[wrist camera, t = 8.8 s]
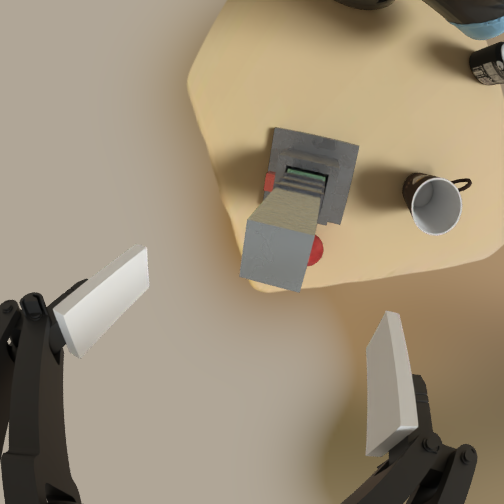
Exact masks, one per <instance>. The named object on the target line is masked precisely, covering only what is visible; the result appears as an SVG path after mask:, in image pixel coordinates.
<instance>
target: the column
mask: <svg viewBox="0 0 504 504" xmlns="http://www.w3.org/2000/svg"><path fill="white" fill-rule="evenodd" d="M325 178H326V177H325V176H324V175H322V174H318V173H313V172H309V171H305V170H300V169H296V168H292V169H290V168H288V171H287V172H284V176H283V177H280V178H279V183H278V182H275V183H274V188H273V190H272V192H271V193H270V194H269V195H268V196H267V197H266V198H265V200H264V201H263V202H262V203H261V204H260V205H259V207H258V208H257V209H256V210H255V211H254V212H253V213H252V215H251V216H250V217H249V218H248V219H247V225H246V232H245V240H244V247H243V254H242V262H241V269H240V277H242V278H246V279H250V280H253V281H257V282H261V283H265V284H268V285H272V286H276V287H280V288H284V289H287V290H291V291H295V292H300V289H301V286H302V282H303V279H304V275H305V271H306V268H307V264H308V260H309V256H310V253H311V249H312V245H313V241H314V237H315V232H316V226H317V222H318V218H319V214H320V210H321V206H322V201H323V197H324V189H325V187H324V186H325Z"/></svg>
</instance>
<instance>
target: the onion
mask: <svg viewBox="0 0 504 504" xmlns="http://www.w3.org/2000/svg"><path fill="white" fill-rule="evenodd" d="M322 254H323V244H322V241H321V240H320V238H319V237H318V236H316V235H315V237H314V241H313V245H312V249H311V253H310V256H309V260H308V264H307V266H311V265H313V264H315V263H317V262H318V261H319V260H320V258H321V257H322Z"/></svg>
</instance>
